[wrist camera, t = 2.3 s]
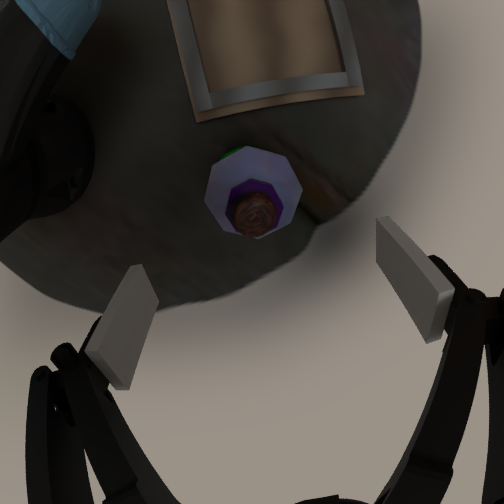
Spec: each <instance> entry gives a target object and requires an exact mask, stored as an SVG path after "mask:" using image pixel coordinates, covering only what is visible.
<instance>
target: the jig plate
mask: <svg viewBox="0 0 504 504" xmlns="http://www.w3.org/2000/svg"><path fill="white" fill-rule="evenodd" d="M167 4H168V9H169V13H170V17H171V21H172V26H173V30H174V34H175V38H176V42H177V47H178V51H179V55H180V59H181V63H182V67H183V71H184V75H185V79H186V83H187V87H188V91H189V95H190V99H191V103H192V107H193V111H194V115H195V119H196V122H197V123H198V122H202V121H205V120H209V119H213V118H217V117H221V116H226V115H230V114H234V113H239V112H244V111H248V110H253V109H258V108H264V107H269V106H275V105H281V104H287V103H293V102H300V101H307V100H315V99H324V98H333V97H344V96H356V95H365V94H364V88H363V82H362V76H361V71H360V66H359V61H358V56H357V52H356V47H355V43H354V39H353V34H352V30H351V27H350V23H349V19H348V15H347V12H346V8H345V5H344V1H343V0H167Z"/></svg>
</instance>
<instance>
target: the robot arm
mask: <svg viewBox="0 0 504 504" xmlns="http://www.w3.org/2000/svg"><path fill="white" fill-rule="evenodd" d="M101 4H102V3H101V0H0V242H1V241H3V240H4V239H5V238H6V237H7V236H8V235H10V234H11V233H12V232H13V231H14V230H16V229H17V228H18V227H19V226H20V225H22V224H23V223H24V222H25V221H27V220H30V219H35V218H40V217H45V216H50V215H54V214H57V213H59V212H61V211H63V210H65V209H66V208H67V207H69V206H70V205H71V204H73V203H74V202H75V201H76V200H77V199H78V198H79V197H80V196H81V195H82V193H83V192H84V190H85V189H86V187H87V185H88V183H89V180H90V177H91V174H92V170H93V164H94V144H93V138H92V134H91V130H90V127H89V125H88V122H87V120H86V119H85V117H84V115H83V114H82V112H81V111H80V110H79V109H78V107H77V106H76V105H74V104H73V103H72V102H71V101H69V100H67V99H65V98H63V97H59V96H49V95H50V93H51V91H52V90H53V88H54V86H55V84H56V82H57V80H58V79H59V77H60V75H61V73H62V72H63V70H64V68H65V67H66V65H67V64H68V62H69V60H72V59H73V58H74V57H75V55H76V49H77V48H78V46H79V44H80V43H81V41H82V39H83V38H84V36H85V35H86V33H87V32H88V30H89V29H90V27H91V26H92V24H93V23H94V21H95V20H96V18H97V17H98V15H99V12H100V10H101ZM376 262H377V264H378V265H379V267H380V268H381V270H382V271H383V273H384V274H385V276H386V277H387V279H388V281H389V282H390V284H391V285H392V287H393V288H394V290H395V292H396V293H397V295H398V296H399V298H400V300H401V301H402V303H403V304H404V306H405V308H406V309H407V311H408V313H409V314H410V316H411V318H412V320H413V321H414V323H415V325H416V326H417V328H418V330H419V332H420V333H421V335H422V337H423V338H424V340H425V342H426V344H427V343H430V342H433V341H436V340H439V339H441V337H442V333H443V330H445V331H446V333H447V334H448V337H447V340H446V343H445V345H444V348H443V354H442V358H441V361H440V364H439V367H438V371H437V374H436V377H435V380H434V383H433V386H432V388H431V391H430V394H429V397H428V400H427V402H426V405H425V408H424V410H423V412H422V415H421V417H420V419H419V422H418V424H417V427H416V429H415V431H414V433H413V436H412V438H411V440H410V442H409V444H408V446H407V448H406V450H405V452H404V454H403V456H402V458H401V460H400V462H399V464H398V466H397V468H396V469H395V471H394V473H393V475H392V476H391V478H390V480H389V481H388V483H387V484H386V486H385V487H384V489H383V490H382V492H381V494H380V495H379V497H378V498H377V500H376V501H375V503H374V504H440V503H441V501H442V499H443V497H444V495H445V493H446V491H447V488H448V486H449V484H450V481H451V478H452V476H453V468H452V465H453V462H454V459H455V457H456V454H457V451H458V449H459V446H460V443H461V440H462V437H463V434H464V431H465V428H466V424H467V421H468V417H469V414H470V410H471V406H472V403H473V399H474V395H475V390H476V386H477V381H478V376H479V371H480V366H481V359H482V353H483V347H484V345H485V350H486V359H487V369H488V384H489V441H488V454H487V464H486V472H485V480H484V486H483V495H482V504H504V288H503V289H502V292H501V294H500V297H486V296H485V294H484V293H483V292H481V291H480V290H477V289H471V288H469V289H468V287H467V286H466V285H465V284H464V283H463V282H462V281H461V279H460V278H459V277H458V276H457V275H456V274H455V273H454V272H453V270H452V269H451V268H450V267H448V265H447V264H446V263H445V262H444V261H443V260H442V259H441V258H439V257H437V256H435V255H430V256H426V254H424V252H423V251H422V250H421V249H420V248H419V247H418V246H417V245H416V244H415V243H414V242H413V241H412V240H411V238H410V237H409V236H408V235H407V234H406V233H405V232H403V230H402V229H401V228H400V227H399V226H398V225H397V224H396V223H395V222H393V220H392V219H391V218H390V217H389V216H386V217H381V218H376ZM158 303H159V300H158V298H157V296H156V294H155V292H154V290H153V288H152V286H151V283H150V281H149V279H148V277H147V275H146V273H145V270H144V268H143V266H142V264H139V265H134V266H130V268H129V270H128V271H127V273H126V275H125V276H124V278H123V280H122V281H121V283H120V285H119V287H118V288H117V290H116V292H115V294H114V295H113V297H112V299H111V301H110V303H109V304H108V306H107V308H106V310H105V312H104V314H103V315H102V316H100V317H99V318H98V319H97V320H96V321H95V322H94V324H93V325H92V327H91V329H90V332H89V333H88V335H87V337H86V339H85V341H84V343H83V345H82V347H81V349H80V351H79V353H77V351H76V350H75V349H74V347H73V346H72V345H71V343H68V342H67V343H63V344H61V345H59V346H58V347H56V348H55V349H54V351H53V352H52V354H51V358H50V360H51V361H52V362H53V363H54V365H55V366H56V367H57V368H58V369H59V370H57V371H54V372H52V371H51V370H50V369H49V368H48V366H40V367H39V368H37V369H36V370H35V371H34V373H33V374H32V376H31V381H30V388H29V397H28V407H27V420H26V444H25V446H26V447H25V448H26V449H25V459H26V460H25V461H26V484H27V496H28V504H94V501H93V496H92V492H91V487H90V482H89V477H88V471H87V466H86V459H85V452H84V449H85V451H86V454H87V456H88V459H89V461H90V464H91V466H92V468H93V471H94V473H95V475H96V477H97V479H98V481H99V484H100V486H101V488H102V490H103V492H104V494H105V496H106V499H105V500H104V501H102V502H103V503H102V504H181V503H179V502H178V501H177V500H176V498H175V497H174V496H173V495H172V493H171V492H170V490H169V489H168V488H167V486H166V485H165V484H164V482H163V481H162V479H161V478H160V476H159V475H158V474H157V472H156V471H155V469H154V468H153V466H152V465H151V463H150V462H149V460H148V458H147V457H146V455H145V454H144V452H143V450H142V449H141V447H140V446H139V444H138V442H137V441H136V439H135V437H134V435H133V434H132V432H131V430H130V429H129V427H128V425H127V423H126V421H125V419H124V418H123V416H122V414H121V412H120V410H119V408H118V406H117V404H116V402H115V400H114V398H113V396H112V394H111V392H110V391H109V390H108V389H107V388H108V385H109V383H110V384H111V385H112V386H113V387H114V388H115V389H116V390H129V388H130V385H131V382H132V379H133V376H134V373H135V369H136V366H137V363H138V360H139V357H140V354H141V351H142V348H143V345H144V342H145V339H146V337H147V334H148V331H149V328H150V325H151V322H152V319H153V317H154V314H155V311H156V309H157V306H158ZM55 408H56V410H55ZM295 504H368V503H365V502H362V501H358V500H352V499H339V496H338V495H333V496H327V497H322V498H316V499H310V500H304V501H301V502H298V503H295Z"/></svg>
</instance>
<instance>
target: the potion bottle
mask: <svg viewBox="0 0 504 504" xmlns="http://www.w3.org/2000/svg"><path fill="white" fill-rule="evenodd" d="M302 191H303V189H302V187H301V185H300V183H299V181H298V179H297V177H296V175H295V173H294V171H293V169H292V168H291V166H290V164H289V162H288V160H287V158H286V156H282V155H279V154H275V153H272V152H268V151H265V150H261V149H257V148H253V147H250V146H246V147H245V146H239V147H236V148H233V149H231V150H229V151H228V152H227V153H226V154H224V155H223V156H222V157H221V158H220V161H219V162H217V163H216V164H214V165H212V169H211V173H210V177H209V181H208V185H207V190H206V194H205V198H204V202H205V204H206V205H207V207H208V208H209V210H210V211H211V213H212V214H213V216H214V217H215V219H216V220H217V222H218V223H219V224H220V226H221V227H222V229H223V230H224V231H227V232H231V233H236V234H240V235H244V236H245V237H252V238H256V239H260V238H262V237H264V236H266V235H268V234H270V233H272V232H274V231H276V230H278V229H280V228H282V227H284V226H286V225H288V224H290V223H291V221H292V219H293V216H294V213H295V210H296V207H297V205H298V202H299V199H300V196H301V193H302Z"/></svg>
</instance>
